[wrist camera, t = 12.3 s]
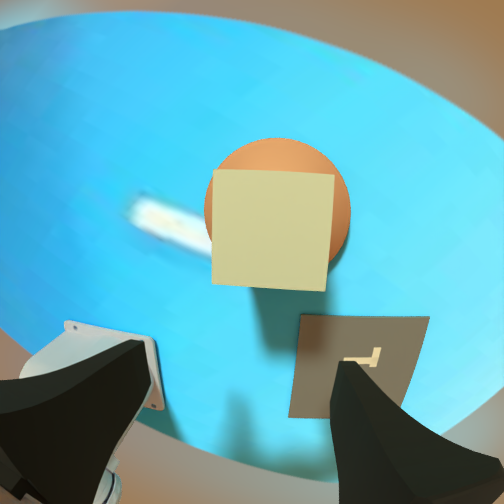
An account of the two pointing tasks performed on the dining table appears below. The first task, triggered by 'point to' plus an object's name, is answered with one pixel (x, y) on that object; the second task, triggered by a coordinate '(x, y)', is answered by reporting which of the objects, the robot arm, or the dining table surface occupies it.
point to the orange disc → (293, 160)
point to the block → (271, 228)
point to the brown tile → (353, 356)
